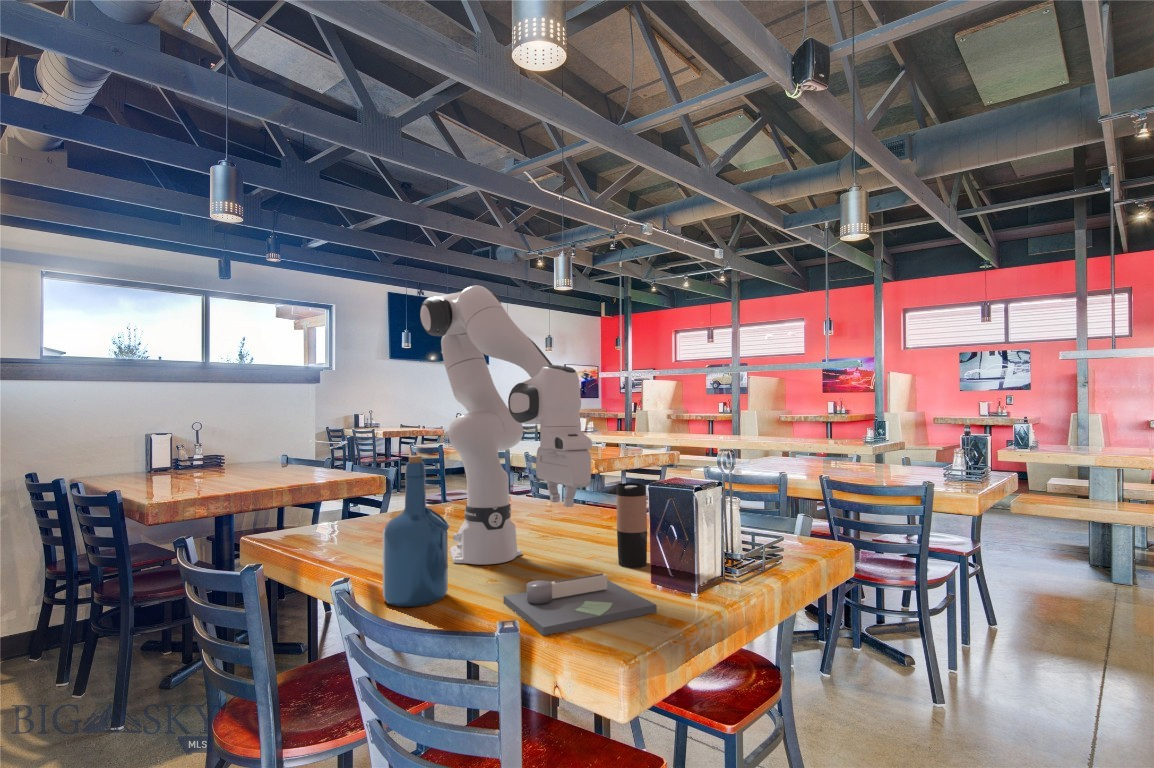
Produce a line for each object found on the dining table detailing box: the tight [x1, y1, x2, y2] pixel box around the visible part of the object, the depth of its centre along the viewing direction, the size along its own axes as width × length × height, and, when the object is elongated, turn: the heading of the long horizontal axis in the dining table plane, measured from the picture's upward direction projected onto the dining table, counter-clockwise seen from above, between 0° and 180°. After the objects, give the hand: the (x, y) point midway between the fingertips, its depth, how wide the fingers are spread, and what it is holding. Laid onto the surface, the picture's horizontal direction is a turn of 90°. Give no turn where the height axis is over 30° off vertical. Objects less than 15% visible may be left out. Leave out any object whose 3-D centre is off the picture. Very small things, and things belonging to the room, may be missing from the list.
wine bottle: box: [382, 455, 450, 608], centre depth 125 cm, size 14×13×30 cm
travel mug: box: [616, 482, 648, 569], centre depth 150 cm, size 8×8×20 cm
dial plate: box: [502, 579, 658, 637], centre depth 117 cm, size 20×24×2 cm
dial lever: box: [526, 572, 608, 604], centre depth 120 cm, size 5×18×3 cm, turn 117°
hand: (561, 504), depth 127 cm, fingers open, 5 cm apart
